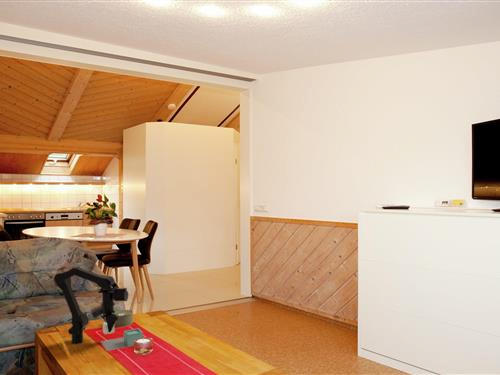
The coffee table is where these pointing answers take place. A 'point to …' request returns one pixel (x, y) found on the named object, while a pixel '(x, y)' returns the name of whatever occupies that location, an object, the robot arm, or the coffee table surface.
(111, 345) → the plate
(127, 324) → the can
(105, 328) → the off-white block
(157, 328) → the coffee table surface
